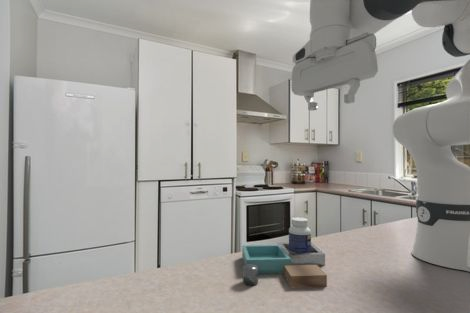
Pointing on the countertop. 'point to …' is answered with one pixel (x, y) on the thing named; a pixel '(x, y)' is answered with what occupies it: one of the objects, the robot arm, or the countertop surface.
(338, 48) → the robot arm
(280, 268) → the tray
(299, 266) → the tan cardboard-like brick
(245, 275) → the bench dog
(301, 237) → the pill bottle
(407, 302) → the countertop surface
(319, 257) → the collar
